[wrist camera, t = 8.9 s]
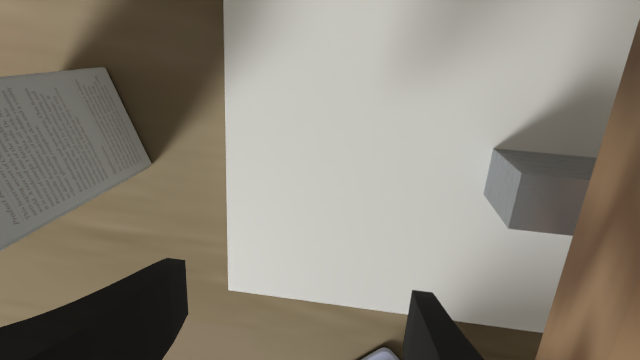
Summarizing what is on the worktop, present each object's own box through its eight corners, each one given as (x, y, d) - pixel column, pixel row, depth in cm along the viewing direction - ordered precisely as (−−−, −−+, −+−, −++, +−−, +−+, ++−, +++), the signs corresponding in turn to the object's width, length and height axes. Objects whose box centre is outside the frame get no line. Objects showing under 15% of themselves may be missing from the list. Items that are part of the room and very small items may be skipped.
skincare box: (46, 90, 23) (-282, 135, 11) (107, 65, 22) (-185, 87, 10) (96, 186, 24) (-147, 310, 13) (156, 167, 23) (-52, 283, 12)
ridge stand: (786, -16, 16) (949, -40, 12) (642, 335, 22) (713, 412, 18) (230, -41, 19) (182, -69, 14) (233, 280, 25) (201, 335, 20)
